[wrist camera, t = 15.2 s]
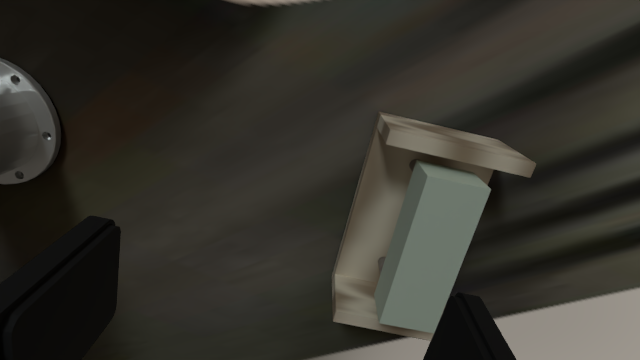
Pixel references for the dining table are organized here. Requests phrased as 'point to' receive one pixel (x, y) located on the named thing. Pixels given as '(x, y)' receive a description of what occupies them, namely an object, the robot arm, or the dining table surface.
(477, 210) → the grey-green rectangular block
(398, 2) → the dining table surface
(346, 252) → the shelf frame
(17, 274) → the robot arm
